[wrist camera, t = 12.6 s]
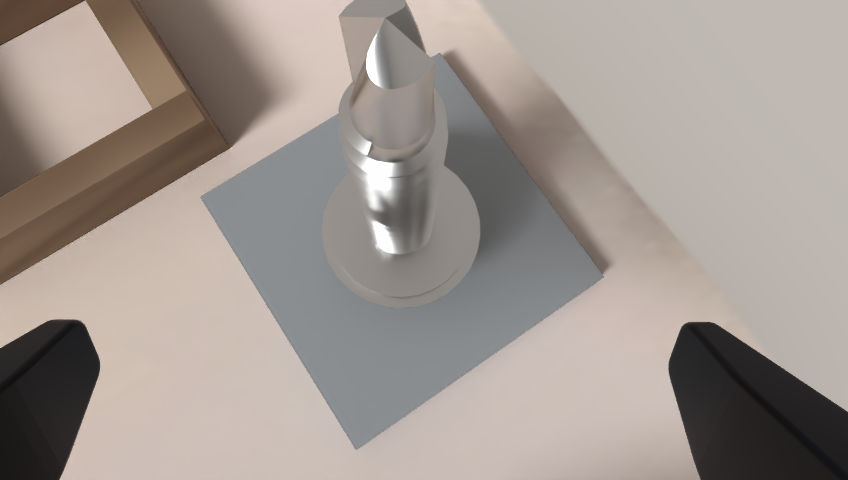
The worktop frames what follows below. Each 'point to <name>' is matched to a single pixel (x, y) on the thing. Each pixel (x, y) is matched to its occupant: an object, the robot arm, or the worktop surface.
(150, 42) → the square wooden frame
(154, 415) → the worktop surface
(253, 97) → the worktop surface
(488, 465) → the worktop surface
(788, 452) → the robot arm
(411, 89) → the screw
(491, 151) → the mat
